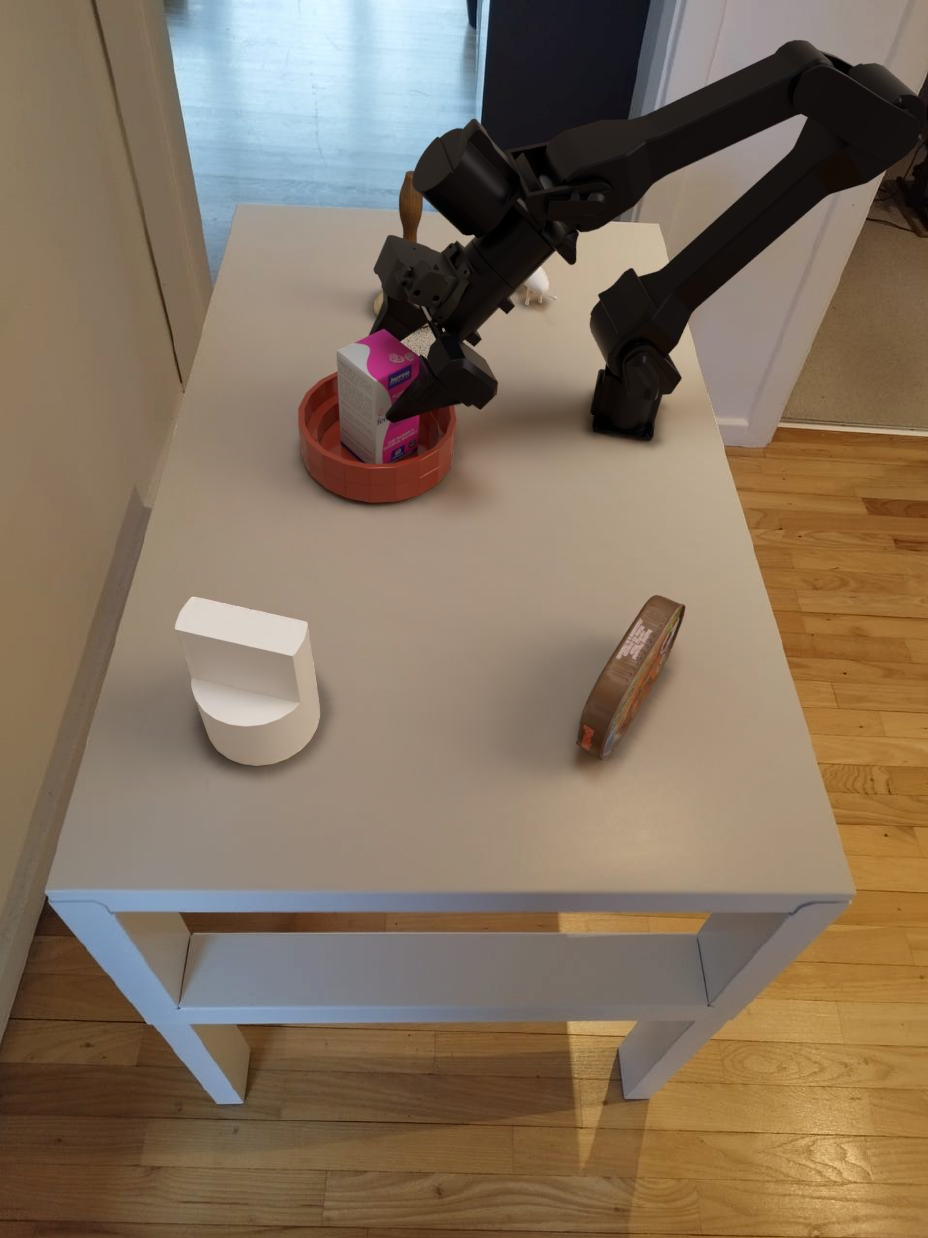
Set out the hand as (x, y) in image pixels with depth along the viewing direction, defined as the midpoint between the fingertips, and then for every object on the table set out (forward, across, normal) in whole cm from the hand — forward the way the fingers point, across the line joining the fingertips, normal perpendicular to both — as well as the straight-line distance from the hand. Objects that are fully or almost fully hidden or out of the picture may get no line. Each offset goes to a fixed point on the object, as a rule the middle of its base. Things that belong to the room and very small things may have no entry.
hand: (375, 388), depth 83 cm
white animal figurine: (-12, -21, +24) cm, 34 cm away
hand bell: (-1, -23, +13) cm, 27 cm away
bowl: (+6, 0, +6) cm, 8 cm away
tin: (-2, +34, +14) cm, 37 cm away
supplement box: (+5, 0, +6) cm, 8 cm away
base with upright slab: (+18, +27, -6) cm, 33 cm away
